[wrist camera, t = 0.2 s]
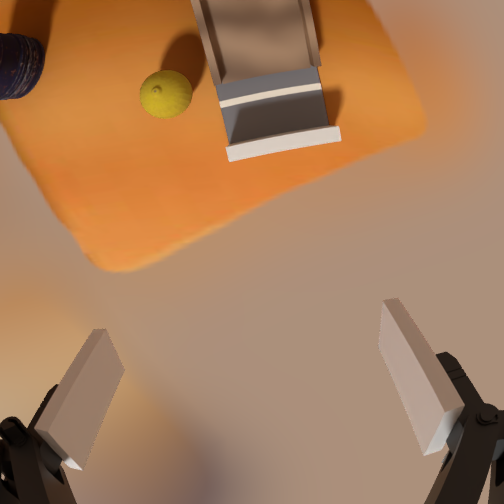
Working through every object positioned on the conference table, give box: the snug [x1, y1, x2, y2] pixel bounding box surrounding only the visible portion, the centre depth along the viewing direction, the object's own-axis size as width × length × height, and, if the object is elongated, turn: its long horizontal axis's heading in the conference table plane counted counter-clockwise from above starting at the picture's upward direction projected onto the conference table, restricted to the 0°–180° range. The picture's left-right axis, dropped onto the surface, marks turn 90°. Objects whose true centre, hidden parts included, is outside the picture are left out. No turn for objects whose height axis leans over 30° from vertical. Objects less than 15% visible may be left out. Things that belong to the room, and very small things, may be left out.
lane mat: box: [215, 65, 329, 144], centre depth 35 cm, size 10×12×1 cm
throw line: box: [219, 83, 322, 108], centre depth 34 cm, size 1×12×1 cm, turn 102°
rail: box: [226, 125, 341, 162], centre depth 34 cm, size 2×12×5 cm, turn 103°
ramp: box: [191, 0, 321, 86], centre depth 27 cm, size 15×12×8 cm
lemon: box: [140, 70, 192, 119], centre depth 31 cm, size 6×6×8 cm
